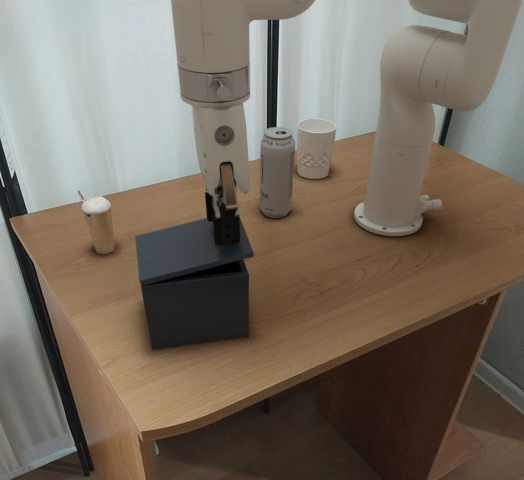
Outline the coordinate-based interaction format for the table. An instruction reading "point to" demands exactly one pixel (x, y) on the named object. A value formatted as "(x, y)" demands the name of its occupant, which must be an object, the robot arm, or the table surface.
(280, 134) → the energy drink can
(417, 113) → the robot arm
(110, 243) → the milkshake
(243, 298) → the bin
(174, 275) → the lid
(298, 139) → the white cup
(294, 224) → the table surface
